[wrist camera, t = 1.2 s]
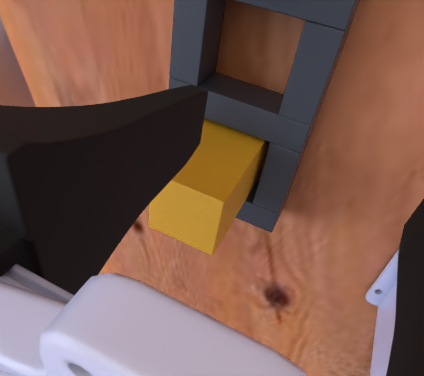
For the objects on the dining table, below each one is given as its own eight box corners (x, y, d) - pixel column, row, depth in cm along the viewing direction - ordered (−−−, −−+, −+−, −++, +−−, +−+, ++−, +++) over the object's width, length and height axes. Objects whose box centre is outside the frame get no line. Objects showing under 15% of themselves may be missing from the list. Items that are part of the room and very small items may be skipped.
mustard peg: (260, 175, 26) (212, 256, 20) (208, 155, 27) (148, 226, 21) (274, 126, 23) (224, 202, 17) (216, 105, 24) (149, 171, 18)
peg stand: (282, 210, 27) (271, 233, 25) (178, 168, 29) (162, 186, 27) (450, -245, 12) (454, -269, 11) (221, -267, 14) (192, -290, 13)
